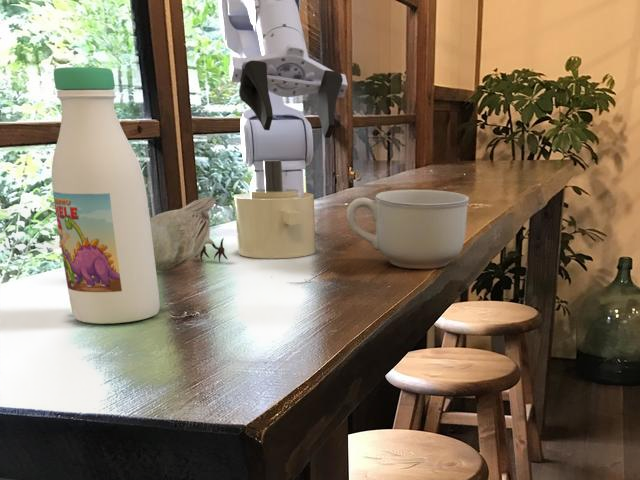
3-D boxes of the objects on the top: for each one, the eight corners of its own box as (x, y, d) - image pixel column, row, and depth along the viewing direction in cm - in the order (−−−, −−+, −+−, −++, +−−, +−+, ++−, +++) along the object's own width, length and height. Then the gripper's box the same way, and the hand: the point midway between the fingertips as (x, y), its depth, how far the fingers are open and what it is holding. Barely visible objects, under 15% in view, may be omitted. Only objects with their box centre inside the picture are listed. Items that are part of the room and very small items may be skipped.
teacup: (465, 257, 100) (468, 189, 96) (466, 274, 90) (470, 198, 87) (353, 256, 101) (352, 189, 98) (343, 272, 91) (341, 198, 88)
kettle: (225, 246, 110) (218, 158, 105) (294, 241, 113) (291, 156, 108) (257, 264, 97) (251, 165, 92) (335, 258, 100) (333, 162, 95)
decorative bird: (106, 281, 88) (95, 209, 85) (199, 259, 101) (193, 195, 97) (144, 286, 85) (134, 211, 82) (234, 262, 98) (229, 197, 95)
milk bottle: (133, 302, 78) (103, 70, 70) (177, 315, 73) (150, 67, 65) (57, 316, 73) (15, 68, 65) (99, 330, 68) (58, 64, 60)
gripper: (231, 8, 96) (246, 91, 91) (346, 28, 101) (365, 108, 96) (222, 59, 102) (235, 140, 97) (330, 76, 107) (348, 153, 102)
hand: (299, 127), depth 97 cm, fingers open, 7 cm apart
